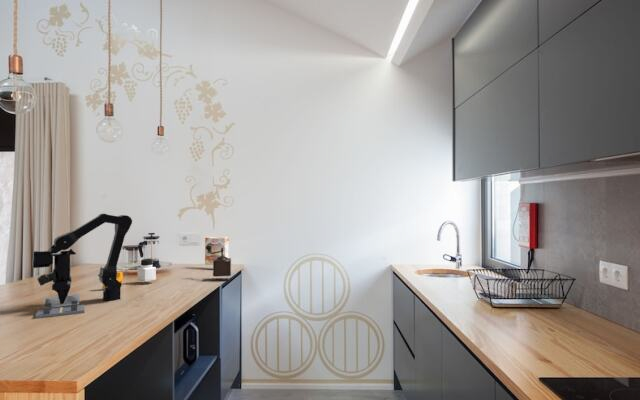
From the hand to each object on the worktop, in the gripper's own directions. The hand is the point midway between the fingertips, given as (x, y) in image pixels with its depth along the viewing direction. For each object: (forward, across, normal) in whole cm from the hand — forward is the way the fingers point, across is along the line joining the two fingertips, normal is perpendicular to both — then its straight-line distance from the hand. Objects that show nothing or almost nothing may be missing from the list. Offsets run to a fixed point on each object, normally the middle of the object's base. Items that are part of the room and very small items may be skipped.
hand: (62, 302), depth 167 cm
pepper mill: (+2, -39, +78) cm, 87 cm away
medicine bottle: (+2, -43, +39) cm, 58 cm away
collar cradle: (+2, +11, 0) cm, 11 cm away
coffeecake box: (+2, -79, +89) cm, 119 cm away
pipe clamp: (+2, -36, +20) cm, 41 cm away
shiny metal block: (+1, 0, 0) cm, 1 cm away
